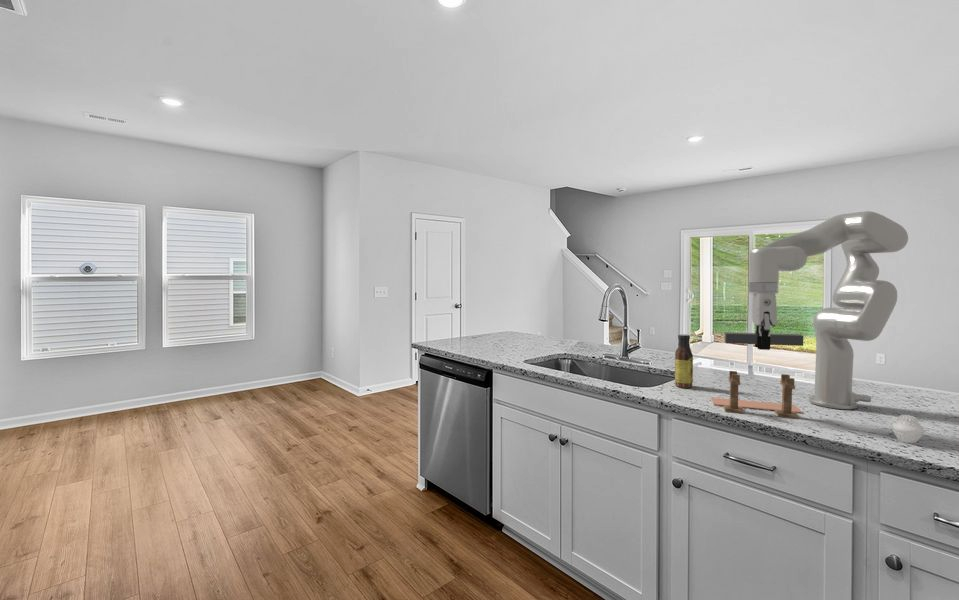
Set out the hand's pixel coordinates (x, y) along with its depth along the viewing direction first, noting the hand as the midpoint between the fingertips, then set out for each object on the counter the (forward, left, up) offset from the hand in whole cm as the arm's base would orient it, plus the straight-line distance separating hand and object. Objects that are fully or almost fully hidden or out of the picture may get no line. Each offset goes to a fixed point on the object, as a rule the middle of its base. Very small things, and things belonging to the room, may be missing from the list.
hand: (762, 347), depth 135 cm
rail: (0, 0, +1) cm, 1 cm away
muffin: (-30, +13, -21) cm, 38 cm away
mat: (0, -8, -20) cm, 22 cm away
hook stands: (0, 0, -20) cm, 20 cm away
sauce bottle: (+20, -27, -21) cm, 39 cm away
